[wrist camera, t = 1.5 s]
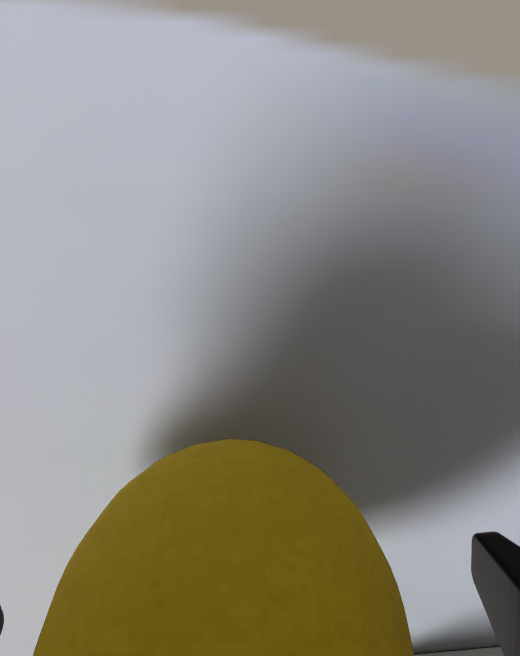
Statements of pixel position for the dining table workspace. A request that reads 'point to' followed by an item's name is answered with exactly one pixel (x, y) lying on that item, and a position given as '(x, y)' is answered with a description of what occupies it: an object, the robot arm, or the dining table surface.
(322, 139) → the dining table surface
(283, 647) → the lemon
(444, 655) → the corral
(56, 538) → the dining table surface
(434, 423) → the dining table surface
